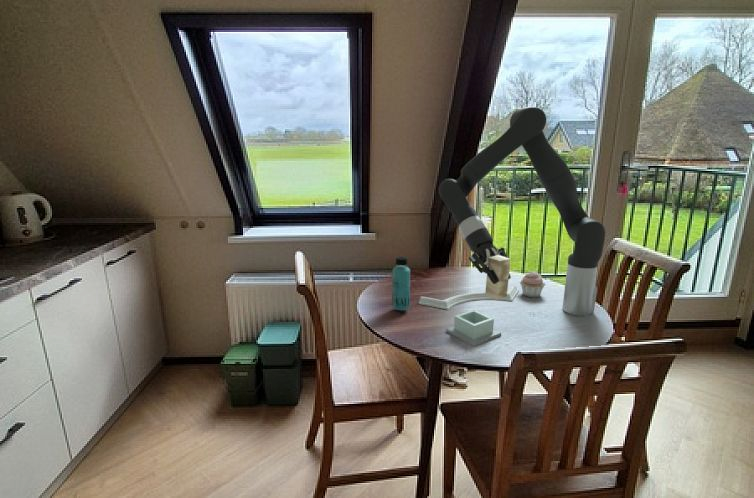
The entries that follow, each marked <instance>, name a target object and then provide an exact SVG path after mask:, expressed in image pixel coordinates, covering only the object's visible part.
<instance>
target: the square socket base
mask: <svg viewBox="0 0 754 498" xmlns="http://www.w3.org/2000/svg"><path fill="white" fill-rule="evenodd" d="M494 322H495V318H492V317H490V316H489V315H486V314H485V313H482V312H479V311H477V310H476V309H472V310H469V311H467V312H466V311H465V312H463V313H459V314H457V315H454V321H453V324H454V325H452V326H449V327H446V328H445V331H446V332H447V333H449V334H450V335H452V336H454V337H456V338H458V339H460V340H461V341H464V343H467V344H469V345H470V346H472V347H477V346H479V345H481V344H483V343H486V342H489V341H491V340H494V339H496V338H499V337H501V336H502V332H501V331H499V330H496V329H494V326H495V325H494Z"/></svg>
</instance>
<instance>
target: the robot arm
mask: <svg viewBox="0 0 754 498" xmlns="http://www.w3.org/2000/svg"><path fill="white" fill-rule="evenodd" d="M546 125H547V115H546V113H545V111H544V110H543V109H542V108H540V107H536V106H525V107H521V108H518V109H516V110H515V111H513V113H512V114H511V116H510V119H509V126H510V127H509V128H507V130H506V131H505V132H504V133H503V134H502V135H500V136H499V138H498V139H496V140H495V141H493V142H491V144H489V145H488V146H486V147H485V148H484V149H482V150H481V151H479V152H478V153H477V154H476V155H474V156H473V158H472V159H470V160H469V161H467V163H466V164H465V165H464V166H463V167H462V168H461V170H460V175H459V177H458V178H457V179H453V178H446V179H444V180H442V181H441V183H440V184H439V187H438V194H439V196H440V198H441V199H442V202H443V203H444V204H445V207H447V208H448V210H449V211H450V213H451V215H452V217H453V220H454V221H455V223H456V224H457V226H458V228H459V231H460V233H461V235H462V237H463V239H464V241H465V243H466V244H467V246H468V248H469V250H470V252H472V253H473V254H471V255H470V256H469V257H468V260H469V261H470V262H471V263H472V264H473V266H474V268H475V269H477V270H478V272H479V273H480V274H482V273H485V274H486V276H487V275H488V277H489V279H490V280H491V282H492V283H493V284H496V283H497V282H499V279H498V277H497V275H496V273H495V272H494V270H492V266H491V264H490V260H489V258H488V257H492V256H496V255H500V256H504V257H507V258H508V256H507V253H506V251H505V248H504V247H500V248H498V247H496V246H495V244H493V243H494V238H493V237H492V235H491V233H490V231H489V230H488V228H487V226H486V225H485V223H484V221H483V219H481V218H480V216H479V214H478V213H477V211H476V209H475V208H474V206H473V205H472V204H471V202H470V201H469V200H468V198H467V197H468V196H469V194H470V193H471V192H472V191H473V190H474V188H475V187H476V186H477V184H478V183H479V182H481V181H482V180H483V179H484V178H485V177H487V175H488V174H489V173H490V172H491V171H493V170H494V169H495V168H496V167H497V166H498V165H499V164H500V163H502V162H503V160H505V159H506V158H507V157H509V156H510V155H511V154H512V153H513V152H515V151H516V150H517V149H518V148H520V147H522V148H523V149H524V151H525V152H526V154H527V156H528V158H529V160H530V163H531V165H532V167H533V169H534V171H535V172H536V175H537V176H538V179H539V181H540V183H541V185H542V186H543V188H544V190H545V191H546V194H547V195H548V197H549V198H550V200H551V202H552V204H553V205H554V206H555V208H556V209H557V211H558V213H559V215H560V217H561V220H562V223H563V225H564V227H565V230H566V233H567V235H568V237H569V238H570V239H571V240H572V241H573V242H574V243H575V244H574V245H575V246H574V251H573V253H571V254H569V255H568V257H567V264H566V274H565V275H566V276H565V283H564V291H563V300H562V306H561V307H562V311H564V312H565V313H567V314H569V315H573V316H578V317H579V316H580V317H585V316H590V315H592V314H594V312H595V308H596V307H595V306H596V300H597V294H598V293H597V292H598V287H597V286H596V280H597V271H598V265H599V262H600V260H601V258H602V255H603V251H604V246H605V245H604V244H605V239H606V229H605V226H604V224H603V223H601V222H600V221H598V220H596V219H593V218H591V217H589V215H588V214H587V213H586V211H585V209H584V208H583V207H582V205H581V203H580V199H579V195H578V188H577V183H576V180H575V177H574V175H573V173H572V171H571V169H570V168H569V167H570V166H568V164H567V163H566V161H565V159H564V158H563V157H562V156H561V155H560V154H559V152H557V150H556V149H554V147H553V146H552V145H551V144H550V142H549V141H548V139H547V138H546V136H545V134H544V133H545V132H544V129H545V127H546ZM511 278H512V277H511V273H509V277H508V281H509V280H510V279H511Z"/></svg>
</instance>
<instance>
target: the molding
mask: <svg viewBox="0 0 754 498" xmlns="http://www.w3.org/2000/svg"><path fill="white" fill-rule="evenodd" d="M519 291H520V290H519V289H518V288H517V286H516V285H515V284H513V285H512V286H511V287H508V289H507V296H506V297H503V298H500V299H494V298H492V297H490V296H487V295H485V291H482V292H481V291H479V292H469V293H465V294H463V293H462V294H458V295H453V296H450V297H448V298H445V299H437V298H433V297H427V296H420V297H419V302H418V305H423V306H428V307H433V308H437V309H443V310H448V311H449V310H450V309H451V308H453V307H455V306H457V305H460V304H464V303H468V302H474V301H484V300H488V301H489V300H493V301H505V302H513V301H514V299H515V298H516V296H517V295H518V293H519Z"/></svg>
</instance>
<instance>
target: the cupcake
mask: <svg viewBox="0 0 754 498" xmlns="http://www.w3.org/2000/svg"><path fill="white" fill-rule="evenodd" d="M519 284H520V286H521V290H522V294H523V296H525V297H528V298H538V297H540V296H541V295H542V291H543V289H544V287H545V286H546V283H544V280H543V277H542V276H541V275H540V274H539V273H538V272H536V271H535V270H533V269H532V271H531V272H528V273H525V275H524V276H523V277H522V280H520V281H519Z"/></svg>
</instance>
